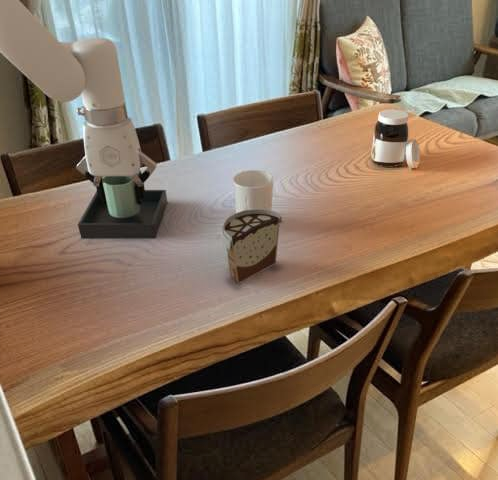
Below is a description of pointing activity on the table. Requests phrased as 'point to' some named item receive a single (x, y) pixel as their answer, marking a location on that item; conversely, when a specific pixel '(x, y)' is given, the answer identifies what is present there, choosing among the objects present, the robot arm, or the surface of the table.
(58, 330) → the table surface
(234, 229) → the food container
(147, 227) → the serving tray
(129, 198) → the green cup
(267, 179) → the white cup
